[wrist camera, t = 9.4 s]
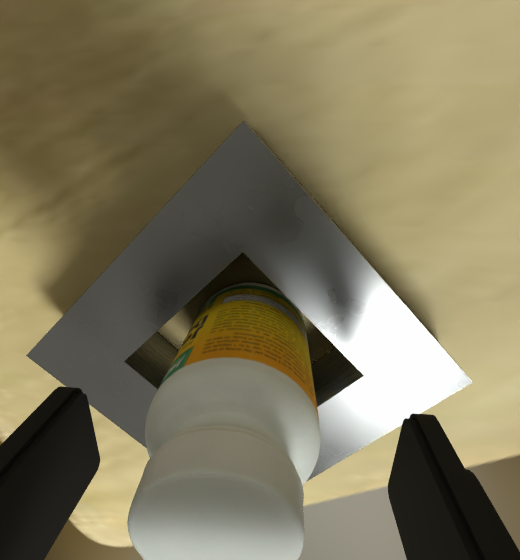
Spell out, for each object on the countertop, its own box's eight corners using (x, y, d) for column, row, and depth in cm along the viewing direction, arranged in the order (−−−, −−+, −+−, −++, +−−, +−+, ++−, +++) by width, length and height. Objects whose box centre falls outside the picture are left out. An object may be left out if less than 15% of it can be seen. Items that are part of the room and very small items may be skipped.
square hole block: (251, 128, 13) (243, 120, 10) (439, 342, 16) (472, 382, 13) (69, 322, 17) (26, 355, 14) (246, 468, 20) (240, 520, 17)
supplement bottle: (291, 384, 17) (300, 630, 8) (191, 362, 17) (91, 587, 8) (318, 292, 15) (371, 482, 6) (206, 267, 15) (99, 425, 6)
